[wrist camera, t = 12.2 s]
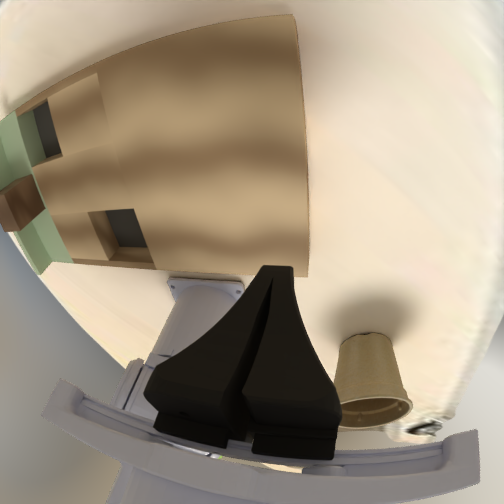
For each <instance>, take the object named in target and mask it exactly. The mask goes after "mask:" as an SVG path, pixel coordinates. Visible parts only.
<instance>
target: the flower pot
mask: <svg viewBox="0 0 504 504" xmlns="http://www.w3.org/2000/svg"><path fill="white" fill-rule="evenodd" d="M334 386H335V387H336V391H337V394H338V397H339V400H340V403H341V408H342V421H341V423H340V425H339V427H343V428H353V429H358V428H371V427H378V426H382V425H386V424H390V423H392V422H395V421H397V420H399V419H401V418H403V417H405V416H406V415H408V414H409V413H410V412H411V410H412V408H413V404H412V401H411V400H410V399H408V396H407V392H406V390H405V389H404V388H403V385H402V381H401V377H400V373H399V369H398V365H397V362H396V358H395V354H394V350H393V346H392V343H391V341H390V339H389V338H387V337H386V336H384V335H381V334H378V333H370V334H368V335H359V334H358V335H355V336H353V337H351V338H349V339H347V340H346V341H345V342H344V343H343V344H342V345H341V347H340V350H339V358H338V364H337V369H336V374H335V379H334Z"/></svg>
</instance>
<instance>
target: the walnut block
mask: <svg viewBox="0 0 504 504" xmlns="http://www.w3.org/2000/svg"><path fill="white" fill-rule="evenodd" d="M45 209H46V208H45V206H44V203H43V201H42V198H41V196H40V194H39V191H38V188H37V186H36V183H35V181H34V178H33V175H32V174H30V175H27V176H25V177H22V178H19V179H16V180H14V181H13V182H11V183H10V184H9V185H7V186H6V187H5V188H3V189H2V190H1V191H0V223H1V225H2V227H3V230H4V231H5V232H14V231H21V230H22V229H23V228H24V227H25V226H27V225H28V224H29V223H30V222H31V221H32V220H33V219H34V218H35V217H37V216H38V215H39V214H40V213H41V212H42V211H43V210H45Z"/></svg>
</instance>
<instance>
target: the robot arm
mask: <svg viewBox="0 0 504 504" xmlns="http://www.w3.org/2000/svg"><path fill="white" fill-rule="evenodd" d="M167 283H168V285H169V288H170V290H171V293H172V295H173V297H174V300H175V302H176V303H175V305H174V307H173V309H172V311H171V313H170V315H169V317H168V319H167V321H166V323H165V325H164V327H163V329H162V331H161V333H160V335H159V337H158V340H157V342H156V344H155V346H154V348H153V350H152V352H151V353H150V354H149V356H148V359H147V361H146V363H145V364H143V362H144V360H142V359H140V358H137V360H132V361H130V363H129V364H128V366H127V368H126V370H125V371H124V373H123V375H122V378H121V380H120V382H119V384H118V386H117V388H116V391H115V393H114V395H113V397H112V400H111V402H110V404H107V403H105V402H102V401H100V400H98V399H95V398H93V397H91V396H88V395H86V394H84V392H83V391H82V390H81V389H80V388H78V387H77V386H75V385H74V384H72V383H70V382H68V381H66V380H64V379H61V378H60V379H59V381H58V382H57V384H56V386H55V388H54V390H53V392H52V394H51V395H50V398H49V399H48V401H47V403H46V405H45V407H44V409H43V411H42V413H41V416H42V417H44V418H45V419H47V420H48V421H50V422H51V423H52V424H54V425H56V426H57V427H59V428H60V429H62V430H63V431H65V432H66V433H68V434H70V435H71V436H73V437H75V438H77V439H78V440H80V441H82V442H84V443H85V444H87V445H89V446H91V447H93V448H94V449H96V450H98V451H100V452H102V453H104V454H106V455H108V456H110V457H112V458H114V459H116V460H118V461H120V463H121V467H120V469H119V471H118V474H117V476H116V479H115V481H114V483H113V486H112V488H111V491H110V493H109V496H108V498H107V501H106V503H105V504H396V503H402V502H408V501H414V500H420V499H425V498H429V497H434V496H438V495H442V494H446V493H450V492H454V491H457V490H460V489H464V488H467V487H470V486H473V485H476V484H478V483H479V482H480V459H479V458H480V457H479V441H478V430H476V429H474V430H470V431H466V432H461V433H457V434H453V435H450V436H448V437H447V438H445V439H444V440H443V441H440V442H434V443H428V444H421V445H414V446H406V447H397V448H385V449H368V450H335V443H336V439H337V432H338V427H339V425H340V423H341V421H342V408H341V403H340V400H339V397H338V394H337V391H336V387H335V386H334V384H333V382H332V381H331V379H330V378H329V376H328V374H327V373H326V371H325V369H324V367H323V366H322V364H321V362H320V360H319V358H318V356H317V354H316V352H315V350H314V348H313V346H312V344H311V341H310V339H309V337H308V334H307V332H306V329H305V327H304V324H303V321H302V318H301V315H300V311H299V308H298V304H297V300H296V296H295V291H294V268H293V267H292V266H280V265H263V266H262V267H261V268H260V270H259V271H258V273H257V274H256V276H255V278H254V279H253V280H252V282H251V283H250V285H249V286H248V288H247V289H246V290H244V285H243V284H242V283H240V282H232V281H216V280H200V279H186V278H172V277H171V278H169V279H168V280H167ZM238 290H240V291H238ZM253 439H254V440H253ZM252 442H253V443H252ZM220 456H226V457H231V458H237V459H242V460H248V461H254V462H261V463H269V464H278V465H287V466H300V467H305V468H303V469H302V474H301V473H292V472H285V471H278V470H271V469H266V468H260V467H254V466H249V465H244V464H239V463H234V462H230V461H225V460H220V459H218V458H219V457H220Z"/></svg>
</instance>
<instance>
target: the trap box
mask: <svg viewBox="0 0 504 504" xmlns="http://www.w3.org/2000/svg"><path fill="white" fill-rule="evenodd" d="M30 174H32V175H33V178H34V181H35V183H36V186H37V188H38V191H39V194H40V196H41V198H42V201H43V203H44V206H45V208H46V209H45V210H43V211H42V212H41V213H40V214H39V215H38V216H37V217H35V218H34V219H33V220H32V221H31V222H30V223H29V224H28V225H27V226H25V227H24V228H23V229H22V230H21V231H14V232H13V233H14V235H15V236H16V238H17V240H18V242H19V244H20V246H21V248H22V250H23V252H24V253H25V255H26V257H27V259H28V261H29V262H30V264H31V266H32V267H33V269H34V271H35V272H36V274H38V275H41V274H42V273H43V272H44V270H45V269H46V268H47V267H48V266H49V265H50V264H51V262H52V261H53V262H64V263H75V264H87V265H99V266H112V267H125V268H139V269H153V270H168V271H184V272H201V273H219V274H239V275H256V274H257V273H258V271H259V270H260V268H261V267H262V266H263V265H280V266H292V267H293V268H294V277H308V266H309V193H308V164H307V143H306V126H305V111H304V98H303V86H302V75H301V65H300V55H299V46H298V38H297V30H296V22H295V19H294V16H293V14H290V15H276V16H265V17H256V18H248V19H241V20H235V21H229V22H223V23H218V24H213V25H208V26H204V27H199V28H195V29H191V30H187V31H183V32H180V33H176V34H172V35H169V36H166V37H162V38H159V39H156V40H153V41H150V42H147V43H144V44H141V45H138V46H136V47H133V48H130V49H128V50H125V51H123V52H120V53H118V54H115V55H113V56H111V57H108V58H106V59H104V60H101V61H99V62H97V63H95V64H93V65H91V66H89V67H87V68H85V69H83V70H81V71H79V72H77V73H75V74H73V75H71V76H69V77H67V78H65V79H64V80H62V81H60V82H58V83H56V84H55V85H53V86H51V87H50V88H48V89H46V90H45V91H43V92H41V93H40V94H38V95H37V96H35V97H34V98H32V99H31V100H29V101H28V102H26V103H25V104H23V105H22V106H20V107H19V108H17V109H16V110H15V111H13V112H12V113H10V114H9V115H8V116H6V117H5V118H4V119H3V120H1V121H0V191H1V190H2V189H3V188H5V187H6V186H7V185H9V184H10V183H11V182H13V181H14V180H16V179H19V178H22V177H25V176H27V175H30Z"/></svg>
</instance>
